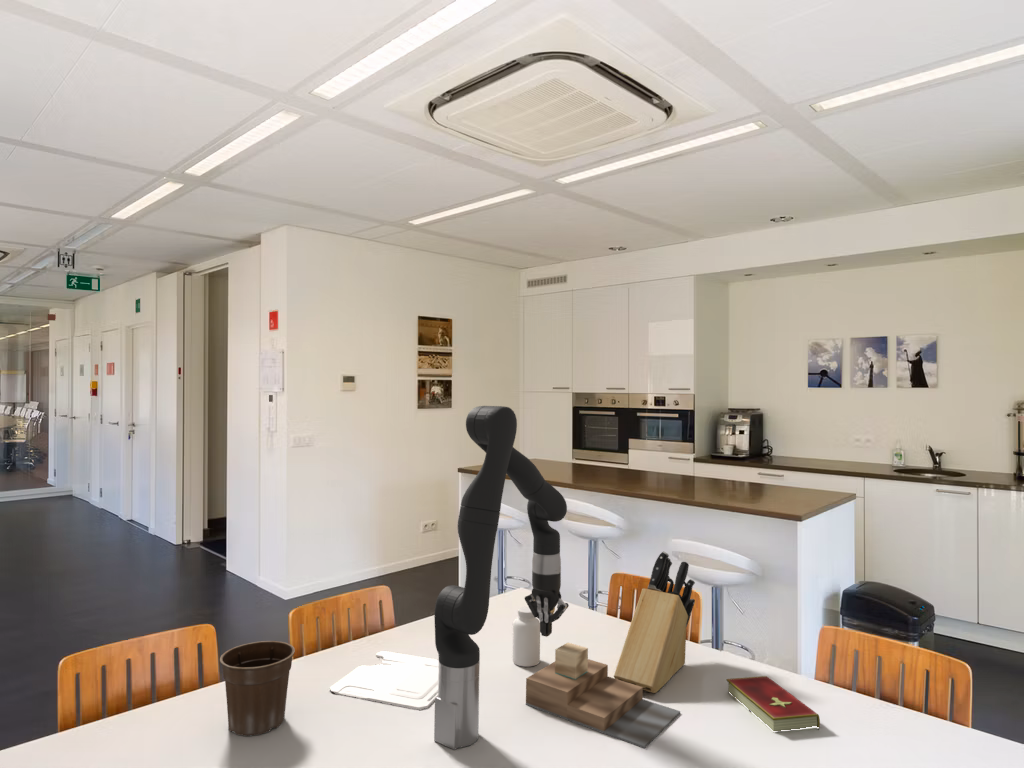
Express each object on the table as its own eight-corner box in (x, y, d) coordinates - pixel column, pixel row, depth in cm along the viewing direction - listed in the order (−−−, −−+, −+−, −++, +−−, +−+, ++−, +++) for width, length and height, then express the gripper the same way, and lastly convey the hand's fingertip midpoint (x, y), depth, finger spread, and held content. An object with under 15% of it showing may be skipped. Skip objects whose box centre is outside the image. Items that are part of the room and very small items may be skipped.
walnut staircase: (644, 748, 142) (644, 718, 143) (525, 704, 162) (526, 678, 162) (680, 713, 158) (680, 686, 159) (568, 677, 178) (568, 653, 178)
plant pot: (220, 712, 156) (222, 644, 156) (292, 701, 161) (293, 636, 162) (215, 747, 140) (217, 672, 141) (294, 734, 146) (296, 662, 146)
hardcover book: (767, 690, 172) (767, 674, 173) (819, 731, 152) (819, 713, 152) (726, 694, 170) (726, 677, 170) (773, 735, 150) (773, 717, 150)
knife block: (697, 654, 195) (698, 550, 195) (653, 699, 166) (654, 577, 166) (661, 645, 201) (662, 545, 202) (612, 687, 172) (614, 570, 172)
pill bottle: (540, 657, 191) (541, 605, 191) (538, 668, 183) (539, 615, 183) (513, 655, 192) (514, 604, 192) (510, 666, 184) (511, 613, 184)
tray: (325, 694, 167) (326, 688, 167) (381, 653, 193) (381, 648, 193) (424, 713, 158) (424, 706, 158) (468, 667, 184) (468, 662, 184)
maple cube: (575, 679, 161) (575, 655, 161) (555, 673, 165) (555, 649, 165) (587, 671, 166) (587, 648, 166) (567, 665, 170) (567, 642, 170)
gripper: (517, 568, 172) (517, 633, 172) (560, 577, 164) (559, 646, 164) (533, 562, 178) (533, 625, 178) (575, 570, 170) (575, 637, 170)
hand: (546, 635), depth 171 cm, fingers closed
